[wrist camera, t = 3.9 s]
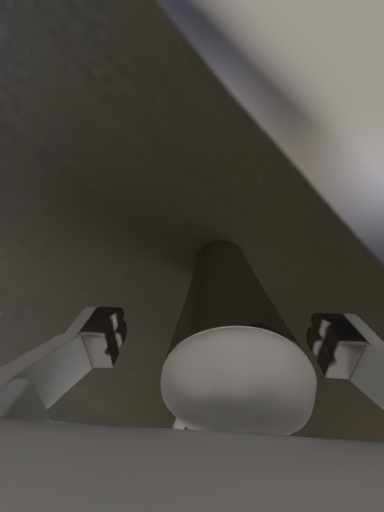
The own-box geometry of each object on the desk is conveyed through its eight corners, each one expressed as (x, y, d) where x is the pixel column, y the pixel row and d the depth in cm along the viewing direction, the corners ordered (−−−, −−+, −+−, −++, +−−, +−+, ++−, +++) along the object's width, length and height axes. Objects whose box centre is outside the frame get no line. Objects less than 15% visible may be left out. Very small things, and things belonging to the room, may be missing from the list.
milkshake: (163, 268, 14) (81, 473, 5) (224, 215, 12) (276, 387, 3) (208, 309, 15) (209, 532, 6) (270, 266, 13) (403, 496, 4)
